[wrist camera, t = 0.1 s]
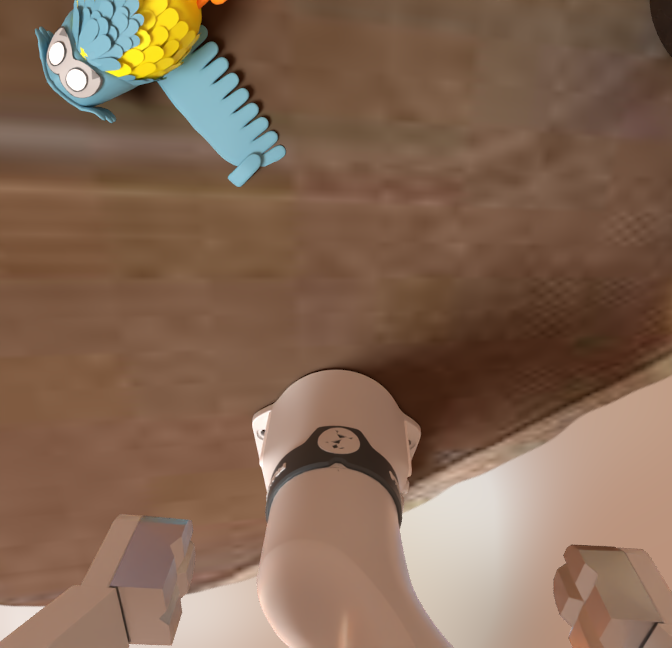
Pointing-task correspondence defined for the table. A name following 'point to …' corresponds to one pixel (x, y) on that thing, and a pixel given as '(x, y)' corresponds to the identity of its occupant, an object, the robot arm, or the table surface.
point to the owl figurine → (156, 71)
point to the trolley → (663, 21)
